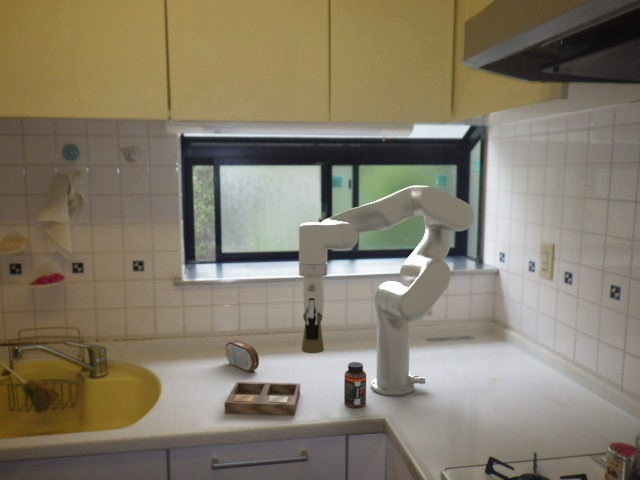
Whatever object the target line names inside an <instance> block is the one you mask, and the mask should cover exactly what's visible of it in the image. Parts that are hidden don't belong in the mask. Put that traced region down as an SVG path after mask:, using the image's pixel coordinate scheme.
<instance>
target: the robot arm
mask: <svg viewBox="0 0 640 480" xmlns="http://www.w3.org/2000/svg"><path fill="white" fill-rule="evenodd" d="M418 216H421V217H423V220H424V226H425V227H424V228H425V229H424V236H423V238H422V240H421V241H420V243H419V244H418V245H417V246H416V248H415V249H414V250H413V251H412V252H411V254H410V255H409V256H408V257H407V258H406V260H405V261H404V262H403V263H402V265H401V267H400V271H399V275H400V278H401V280H402V281H403V282H404V283H402V282H398V281H396V280H395V281H393V280H390V281H385V282H382V283H381V284H379V285H378V287H377V288H376V290H375V292H374V297H373V301H374V308H375V309H374V310H375V314H376V315H375V316H376V376H375V378H374V379H372V380H371V382H370V387H371V389H372V390H373V391H375V392H376V393H378V394H381V395H384V396H393V397H394V396H395V397H396V396H398V397H399V396H405V395H408V394H411V393H413V391H414V390H415V384H419V385H425V384H426V377H425V376H422V377H421V375H420V374H412V373H411V372H410V347H411V346H410V339H411V327H410V323H415V322H419V321H420V320H422V319H423V318H424V317H425V316H427V314H428V313H429V312H430V311H431V309H433V306H434V305H435V304H436V303H437V301H438V300H439V299H440V298H441V296H442V295H443V294H444V293H445V291H446V290H447V288H448V286H450V285H449V284H450V281H451V277H452V274H451V268H450V266H449V264H448V263H447V262H446V261H444V260H445V258H446V257H447V256H448V253H449V252H450V248H451V238H450V231H453V232H464V231H466V230H468V229H469V228H470V227H471V226H472V225H473V222H474V219H475V213H474V210H473V208H472V206H471V205H470V204H469V203H467V202H466V201H464V200H462V199H460V198H458V197H456V196H454V195H452V194H450V193H448V192H447V191H444V190H442V189H441V188H438V187H435V186H432V185H411V186H408V187H405V188H403V189H400V190H397V191H396V192H394V193H392V194H389V195H387V196H385V197H382V198H380V199H378V200H375V201H373V202H370V203H366V204H362V205H360V206H357V207H353V208H350V209H347V210H344V211H342V212H339V213H337V214H334V215H333V216H330V217H328V218H326V219H324V220H322V221H321V222H304V223H302V224H300V225H299V228H298V251H299V252H298V275H299V276H300V277H303V278H302V279H303V282H302V283H303V284H302V285H303V286H302V287H303V288H302V289H303V290H302V291H303V314H304V313H306V314H307V324H306V339H307V340H318V324H317V316H318V313H320V314H322V315H323V313H324V309H325V294H324V293H325V283H324V282H325V280H324V277H327V276H328V250H334V251H348V250H350V249H352V248H354V247H355V246H356V245H357V243H358V242H359V234H362V233H367V232H370V233H371V232H381V231H386V230H389V229H391V228H394V227H395V226H397V225H399V224H402V223H403V222H405V221H407V220H411V219H412V218H414V217H418ZM314 311H316V313H314ZM314 315H315V317H314Z"/></svg>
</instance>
